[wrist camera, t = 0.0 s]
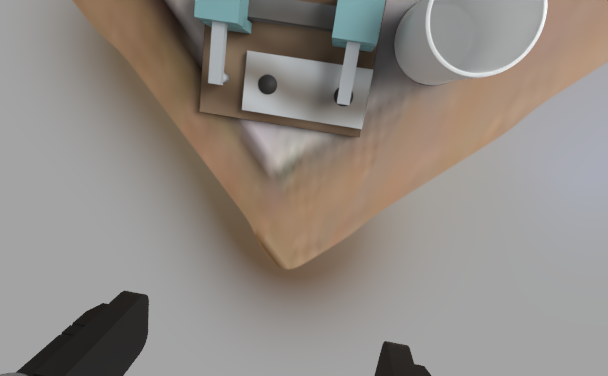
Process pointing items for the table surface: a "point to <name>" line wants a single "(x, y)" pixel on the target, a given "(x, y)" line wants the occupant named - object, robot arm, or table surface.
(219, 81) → the sliding leg
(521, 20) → the mug
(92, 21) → the table surface
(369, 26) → the fixed leg
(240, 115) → the board
